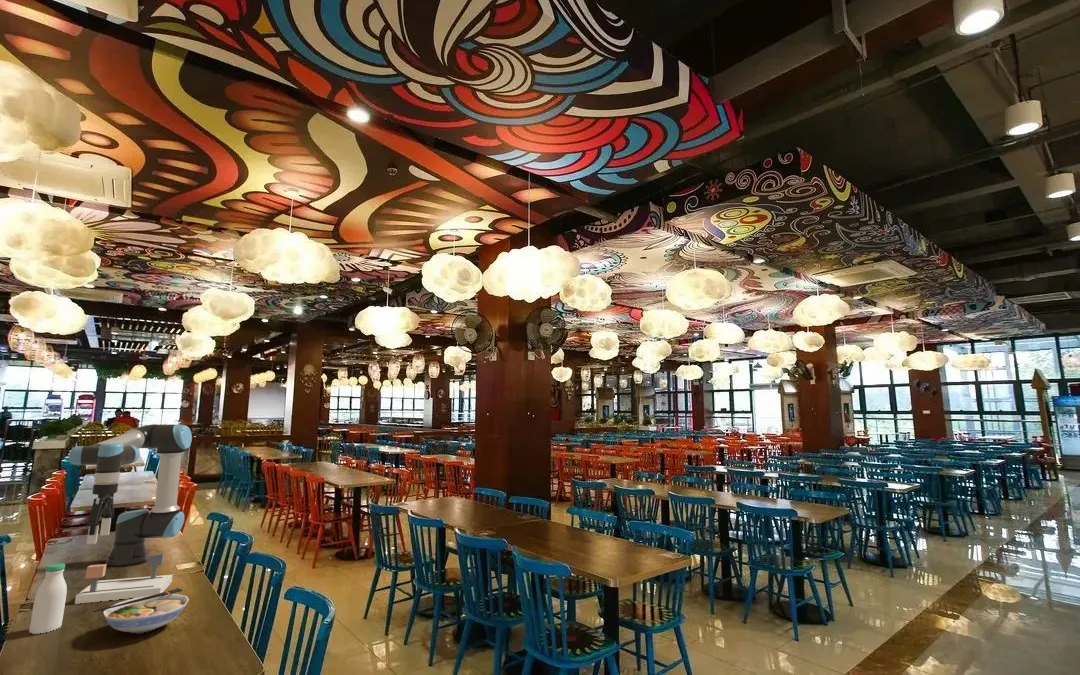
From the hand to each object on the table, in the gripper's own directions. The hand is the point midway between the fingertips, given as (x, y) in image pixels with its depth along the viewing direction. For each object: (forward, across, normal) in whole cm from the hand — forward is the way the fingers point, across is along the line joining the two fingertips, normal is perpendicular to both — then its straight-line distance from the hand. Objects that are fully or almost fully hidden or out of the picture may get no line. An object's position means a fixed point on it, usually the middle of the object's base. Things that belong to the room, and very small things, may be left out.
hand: (98, 539), depth 198 cm
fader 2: (+18, -8, +18) cm, 27 cm away
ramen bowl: (+21, +43, +27) cm, 55 cm away
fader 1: (+18, +4, +2) cm, 18 cm away
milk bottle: (+21, +32, -2) cm, 38 cm away
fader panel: (+21, -2, +11) cm, 24 cm away
